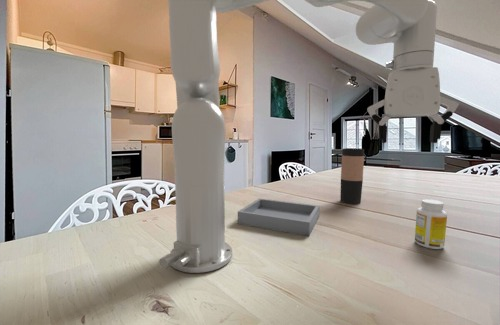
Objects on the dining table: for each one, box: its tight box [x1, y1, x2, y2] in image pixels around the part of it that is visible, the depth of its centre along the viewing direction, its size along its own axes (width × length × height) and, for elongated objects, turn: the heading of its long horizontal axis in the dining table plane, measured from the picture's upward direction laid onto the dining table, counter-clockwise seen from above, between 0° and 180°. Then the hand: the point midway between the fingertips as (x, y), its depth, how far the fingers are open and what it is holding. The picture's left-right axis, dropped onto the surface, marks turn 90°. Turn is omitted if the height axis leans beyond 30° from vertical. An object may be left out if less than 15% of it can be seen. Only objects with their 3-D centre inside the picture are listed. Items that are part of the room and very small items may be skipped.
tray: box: [237, 198, 321, 237], centre depth 72 cm, size 16×20×4 cm
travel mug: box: [339, 147, 365, 205], centre depth 92 cm, size 8×8×20 cm
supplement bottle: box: [414, 198, 448, 250], centre depth 56 cm, size 6×6×10 cm
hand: (407, 142), depth 56 cm, fingers open, 9 cm apart
